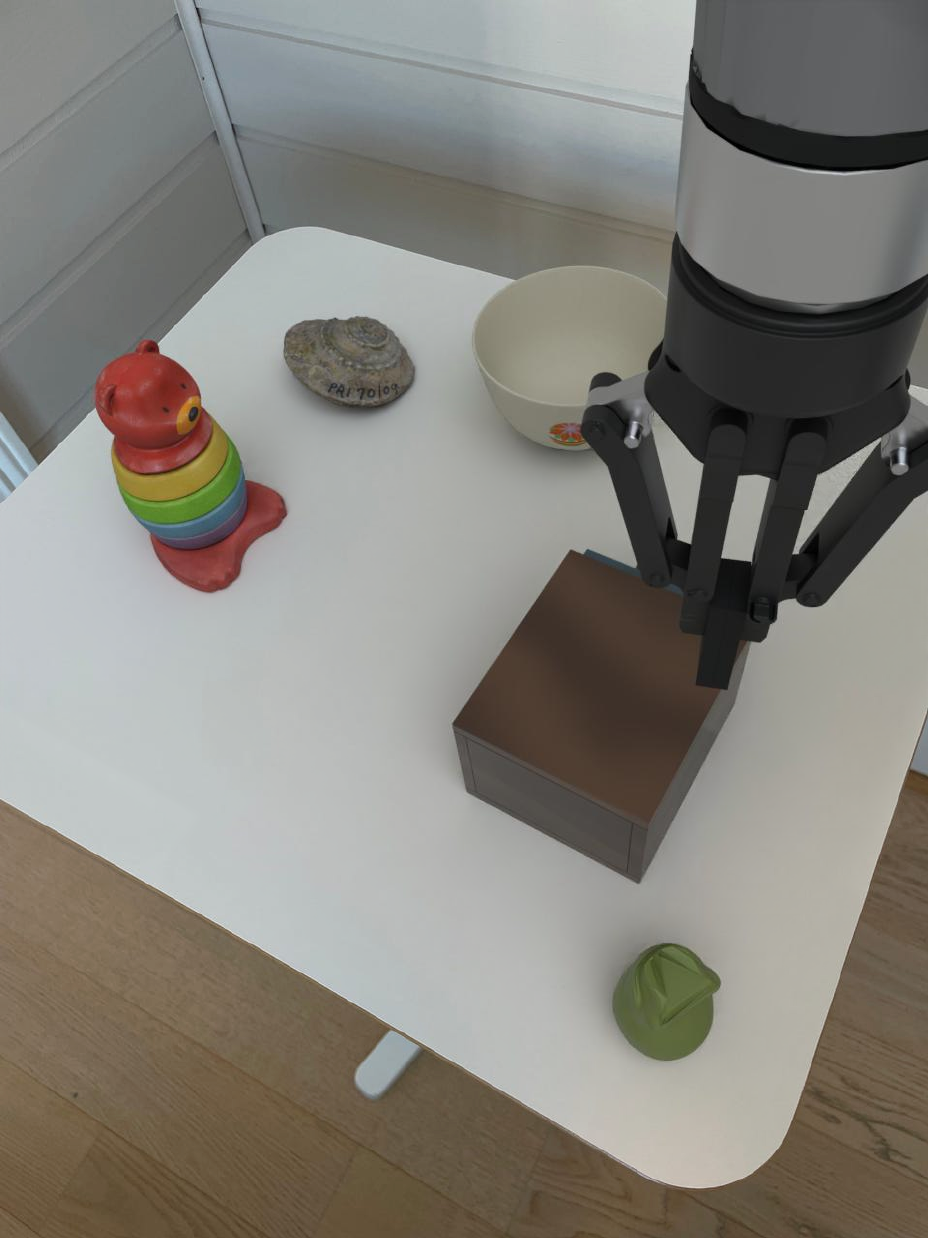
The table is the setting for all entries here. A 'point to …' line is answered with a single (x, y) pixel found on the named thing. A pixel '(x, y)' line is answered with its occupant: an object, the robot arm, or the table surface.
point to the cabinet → (595, 716)
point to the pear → (666, 1002)
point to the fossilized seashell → (349, 360)
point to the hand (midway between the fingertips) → (714, 663)
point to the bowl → (563, 345)
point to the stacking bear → (181, 470)
